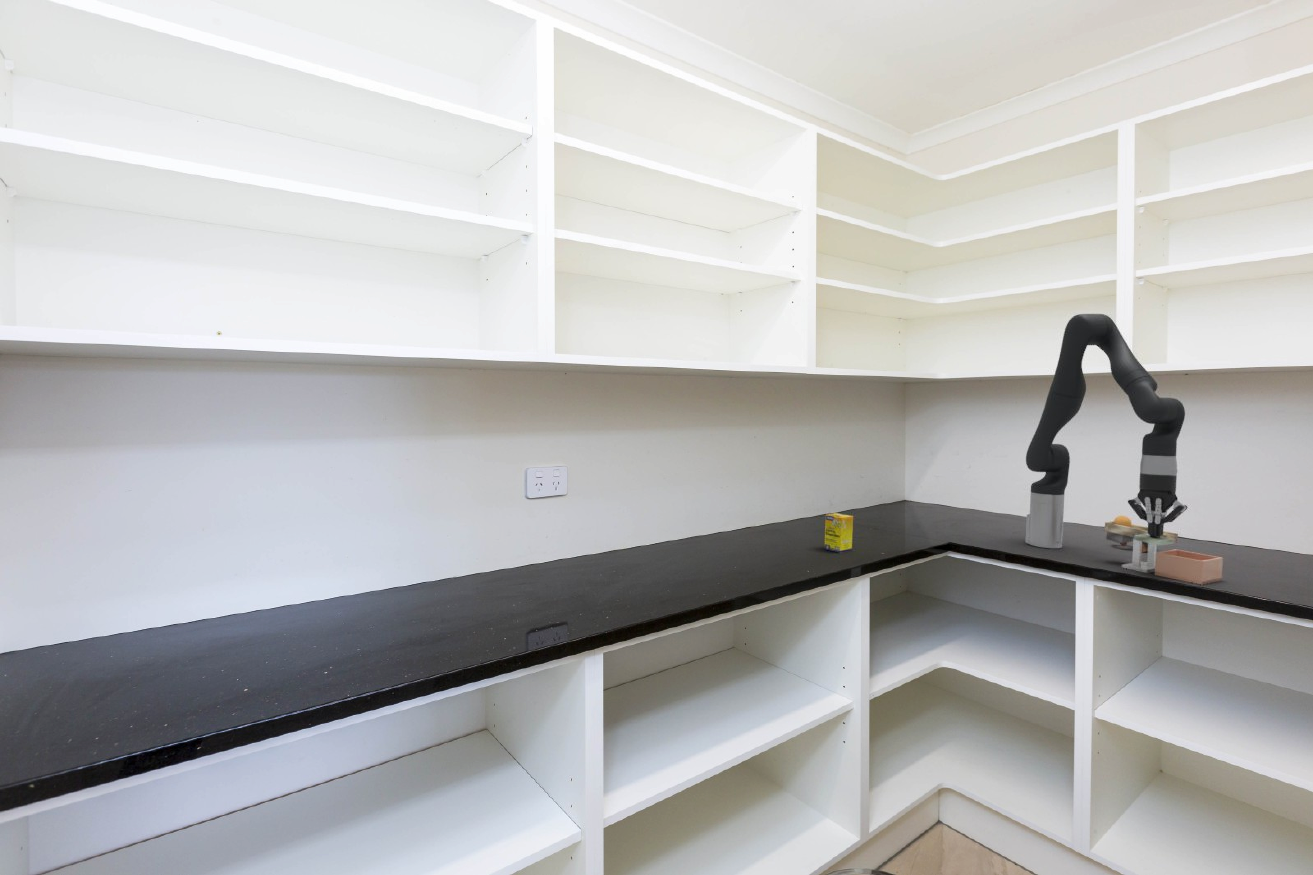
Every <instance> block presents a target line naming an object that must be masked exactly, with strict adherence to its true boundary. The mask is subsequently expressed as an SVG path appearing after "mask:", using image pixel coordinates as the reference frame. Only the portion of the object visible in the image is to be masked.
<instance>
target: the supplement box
mask: <svg viewBox="0 0 1313 875" xmlns="http://www.w3.org/2000/svg"><path fill="white" fill-rule="evenodd" d="M853 522H854V515H849V514H848V515H847V514H843V513H839V512H836V513H830V514H825V524H824V525H825V526H824V527H825V528H824V550H826V551H830V552H833V553H834V552H835V553H837V554H838V553H839V554H842V553H843V554H844V553H849V552H852V549H853V529H854V528H853V527H854V526H853V525H854V523H853Z"/></svg>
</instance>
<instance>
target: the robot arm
mask: <svg viewBox="0 0 1313 875" xmlns="http://www.w3.org/2000/svg"><path fill="white" fill-rule="evenodd" d="M1088 346H1097V347H1098V348H1099V349H1100V350H1101V351H1103V353H1105V355H1106V356H1107V358H1108V360H1109V364H1110V372H1111V375H1112V377H1113V379H1114V381H1115V382H1116V384H1117V385H1118V386H1119V387H1120V388H1121V390H1122V391H1123V392H1124V393H1125V394H1126V395H1127V397H1128V400H1129V402H1130V404H1131V407H1132V409H1133V411H1134V414H1135V415H1136V416H1137V417H1138V418H1139V419H1140V420H1141V421H1143V422H1144V423H1146V424H1151V425H1153V429H1152V431H1151V432H1150V433H1146V434H1145V435H1144V436H1143V437H1142V444H1141V447H1142V448H1141V458H1140V459H1141V460H1140V464H1139V465H1140V466H1139V483H1138V484H1139V486H1138V488H1139V492H1138V493H1137V496H1136V497H1134V498H1132V499H1128V500H1127V503H1128V505H1129V506H1130V507H1131V509H1132V510H1133V511H1134V513H1135V514H1136V515H1137V516H1138V517H1139V519H1140V520H1143V521H1146V522H1147V527H1148V534H1149V535H1150V537H1154V538H1160V537H1161V536H1162V535H1163V531H1164V525H1165V524H1168V523H1173V522H1174V521H1175V520H1176V519H1177V518H1179V517H1180V516H1181V515H1182V514H1183V513H1184V512H1185V511H1187V510H1188V505H1186V504H1182V502H1180V501H1179V500H1178V496H1177V495H1176V493H1177V492H1176V491H1177V478H1178V477H1177V476H1178V462H1177V446H1178V445H1177V444H1178V443H1177V442H1178V438H1179V436H1180V433H1181V430H1182V427H1183V425H1184V423H1185V417H1186V411H1185V406H1184V404H1183V403H1182V402H1181V400H1179V399H1178V398H1173V397H1160V396H1158V395H1157V393H1156V391H1157V389H1158V384H1157V382H1156V380H1155V378H1153V376H1152V375H1151V374H1150V373H1149V371H1148V370H1146V368H1145V367H1144V366H1143V365H1142V363H1141V362H1140V361H1139V360H1138V359H1137V357H1136V356H1135V355H1134V353H1133V352H1132V351H1131V348H1130V347H1129V345H1128V344H1127V342H1126V340H1125V338H1124V336H1123V335H1122V333H1121V332H1120V329H1119V328H1118V326H1117V324H1116V323H1115V322H1114V320H1113V319H1112V318H1111V317H1110V316H1109V315H1107V314H1104V313H1080V314H1076V315H1073V316H1072V317H1071V318H1070V319H1069V320H1068V322H1067V323H1066V325H1065V328H1064V332H1063V337H1062V342H1061V347H1060V352H1059V357H1058V361H1057V365H1056V368H1055V372H1054V376H1053V379H1052V381H1051V384H1050V386H1049V391H1048V394H1047V397H1046V400H1045V404H1044V407H1043V411H1042V413H1041V416H1040V420H1039V422H1038V424H1037V427H1036V430H1035V432H1034V434H1033V437H1031V438H1032V439H1031V441H1030V443H1029V445H1028V448H1027V451H1026V454H1025V455H1026V456H1025V465H1026V466H1027V469H1029V471H1032V472H1034V473H1035V472H1036V473H1045V474H1044V476H1043V477H1042V478H1041V479H1039V480H1036V481H1034V482H1032V483H1031V485H1030V501H1029V514H1026V518H1025V519H1026V520H1025V521H1026V522H1025V526H1026V527H1025V544H1029V546H1030V545H1031V546H1032V547H1033V546H1034V547H1038V548H1044V549H1045V548H1046V549H1061V548H1063V532H1064V515H1065V514H1064V512H1065V511H1064V510H1065V491H1066V488H1067V485H1068V484H1069V482H1068V481H1069V474H1070V473H1069V472H1070V464H1071V457H1070V452H1069V449H1068V448H1067V447H1066V446H1065V445H1064V444H1060V443H1053V442H1054V441H1055V438H1056V437H1057V434H1058V433H1059V432H1060V431H1061V430H1062V429H1063V428H1064V427H1065V426H1066V425H1068V423H1069V422H1070V421H1071V420H1072V419H1073V418H1075V416H1076V415H1077V414H1078V413H1079V411H1080V409H1081V407H1082V404H1083V401H1084V398H1085V395H1086V393H1087V392H1086V391H1087V384H1086V379H1085V376H1084V372H1083V367H1082V366H1083V360H1084V355H1085V352H1086V349H1087V347H1088ZM1143 506H1144V507H1143ZM1144 508H1145V509H1144ZM1170 508H1172V509H1173V510H1172V511H1171V512H1169V513H1168V510H1170Z"/></svg>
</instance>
